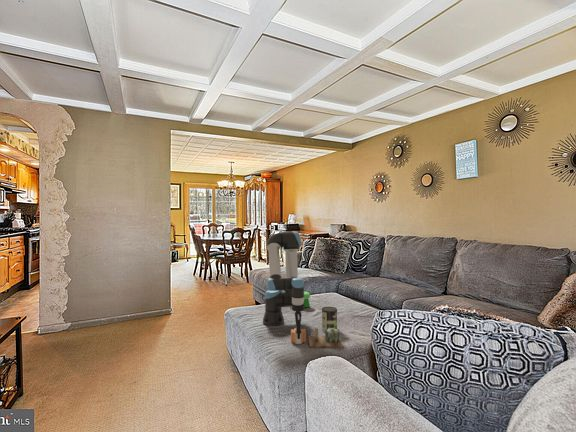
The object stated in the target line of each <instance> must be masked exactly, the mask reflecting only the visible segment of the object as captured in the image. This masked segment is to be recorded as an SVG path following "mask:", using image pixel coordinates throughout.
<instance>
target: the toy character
mask: <svg viewBox="0 0 576 432" xmlns="http://www.w3.org/2000/svg"><path fill="white" fill-rule="evenodd" d="M304 298H305V300H304V303H303V304H304V308H308V307H310V306H311V305H310V300H309V299H310V298H311V293H310V292H308V291H304ZM289 308H290V309H292V307H289Z"/></svg>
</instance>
